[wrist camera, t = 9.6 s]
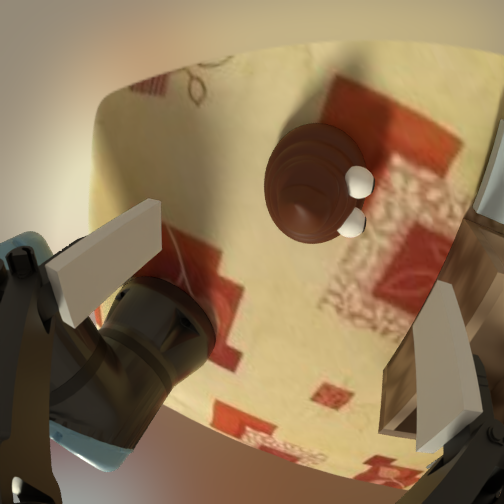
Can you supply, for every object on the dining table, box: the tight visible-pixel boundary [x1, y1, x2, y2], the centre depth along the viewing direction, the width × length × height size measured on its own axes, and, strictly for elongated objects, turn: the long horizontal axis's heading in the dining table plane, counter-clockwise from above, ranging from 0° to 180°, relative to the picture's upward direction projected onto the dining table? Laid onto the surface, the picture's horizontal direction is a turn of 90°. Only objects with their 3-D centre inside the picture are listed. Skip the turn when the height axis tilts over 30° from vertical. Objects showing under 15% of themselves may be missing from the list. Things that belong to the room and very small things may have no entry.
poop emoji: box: [264, 123, 375, 244], centre depth 21 cm, size 10×8×9 cm
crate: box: [378, 218, 504, 440], centre depth 22 cm, size 20×18×9 cm
